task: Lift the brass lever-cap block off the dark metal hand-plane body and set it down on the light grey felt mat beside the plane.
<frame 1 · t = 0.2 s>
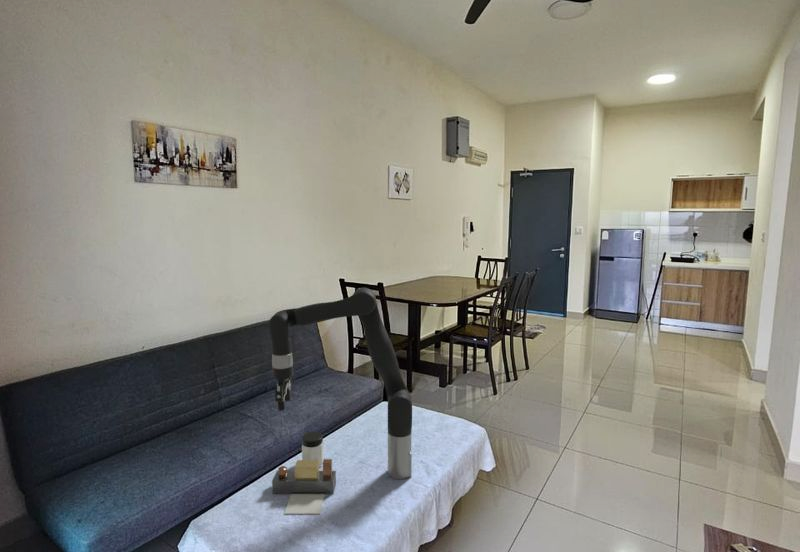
hand: (284, 405, 168), 28 cm above the table, fingers open, 8 cm apart
felt mat: (305, 504, 155), on the table
jar: (313, 464, 180), on the table
lever cap: (307, 476, 163), point 5 cm above the table, touching plane body
plane body: (304, 488, 164), on the table
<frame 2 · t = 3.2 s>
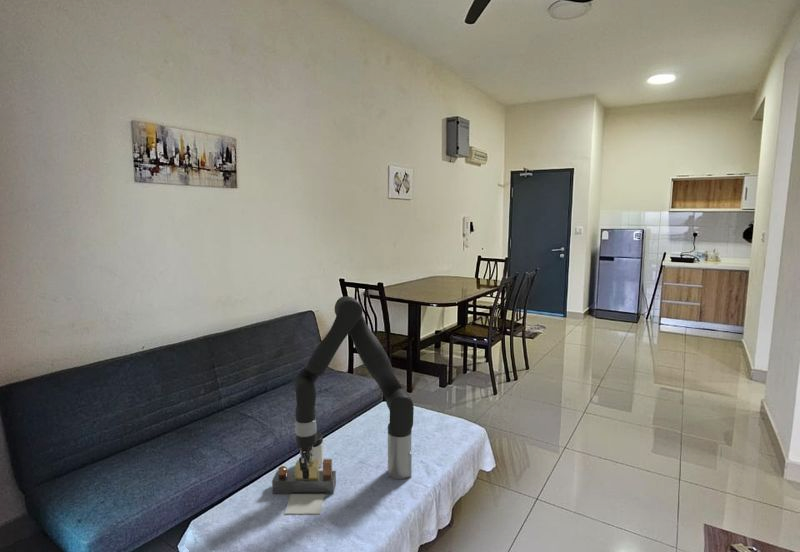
hand: (307, 473, 163), 6 cm above the table, fingers closed on lever cap, 4 cm apart
lever cap: (307, 476, 163), point 5 cm above the table, touching gripper, plane body
everything else where it was.
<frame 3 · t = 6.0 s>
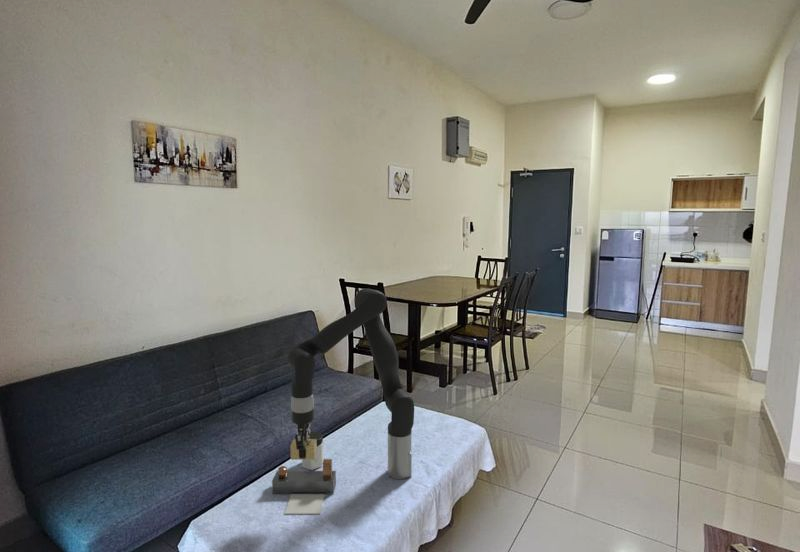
hand: (304, 453, 152), 19 cm above the table, fingers closed on lever cap, 4 cm apart
lever cap: (304, 455, 152), point 18 cm above the table, touching gripper
everything else where it was.
when the fingers open (3 cm above the table, at t = 9.2 s): lever cap drops 1 cm, resting on felt mat.
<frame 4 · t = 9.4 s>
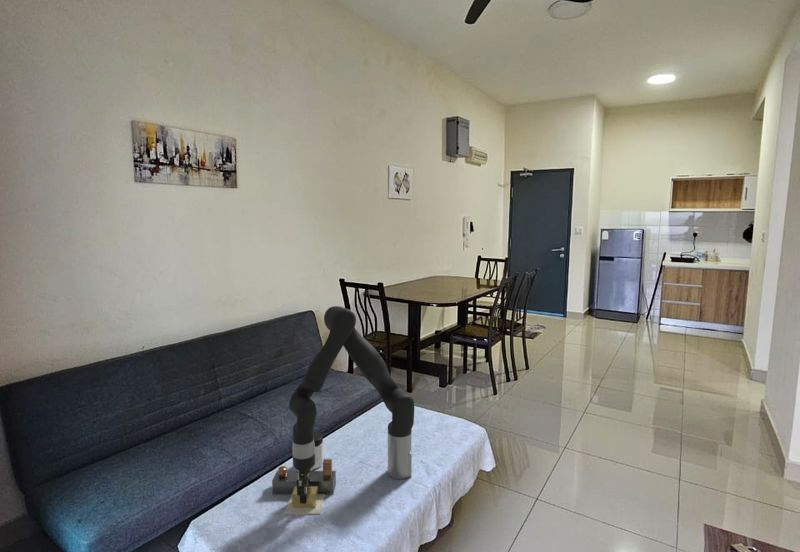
hand: (305, 496, 154), 3 cm above the table, fingers open, 6 cm apart
lever cap: (305, 503, 155), resting on felt mat
everything else where it was.
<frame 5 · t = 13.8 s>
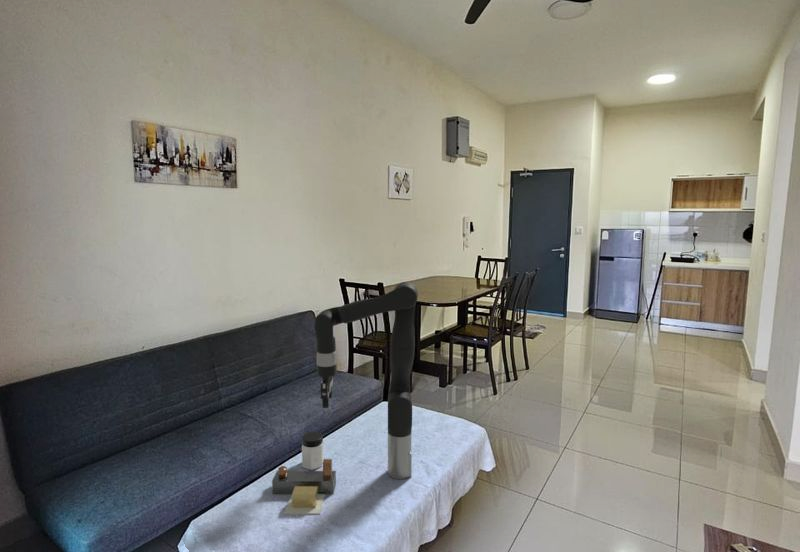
hand: (327, 402, 171), 28 cm above the table, fingers open, 8 cm apart
nothing on the table moved.
at the end: lever cap inside the target area on the felt mat (0.0 cm from its centre), point 0.4 cm above the felt mat's base; lever cap tilted 0°; lever cap touching felt mat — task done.
